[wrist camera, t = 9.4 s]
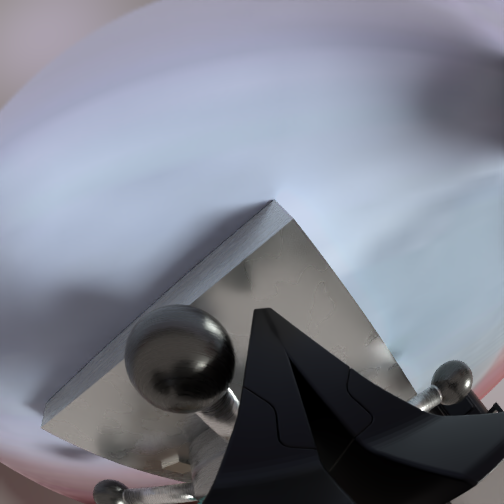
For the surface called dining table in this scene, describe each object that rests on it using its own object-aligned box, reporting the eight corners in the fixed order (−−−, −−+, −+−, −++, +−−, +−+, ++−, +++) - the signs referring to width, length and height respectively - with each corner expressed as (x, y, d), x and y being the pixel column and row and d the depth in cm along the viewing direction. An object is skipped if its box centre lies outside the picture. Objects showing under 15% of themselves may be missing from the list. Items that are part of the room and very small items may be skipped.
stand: (414, 392, 22) (427, 409, 20) (267, 479, 24) (272, 496, 22) (274, 199, 10) (298, 223, 8) (46, 403, 13) (39, 433, 11)
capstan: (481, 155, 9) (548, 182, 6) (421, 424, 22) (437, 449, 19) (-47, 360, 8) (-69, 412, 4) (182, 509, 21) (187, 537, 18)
